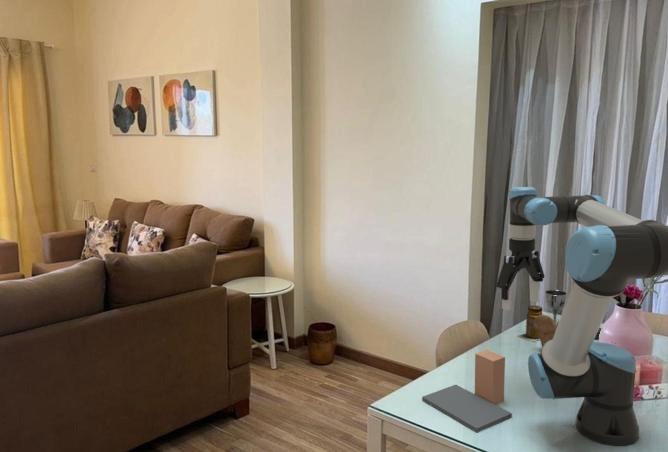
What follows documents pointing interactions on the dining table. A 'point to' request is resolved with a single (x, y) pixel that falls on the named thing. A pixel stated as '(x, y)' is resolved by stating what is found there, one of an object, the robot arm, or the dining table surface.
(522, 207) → the robot arm
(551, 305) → the wine glass
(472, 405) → the rubber mat
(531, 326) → the condiment
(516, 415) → the dining table surface
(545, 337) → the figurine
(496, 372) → the tall block
